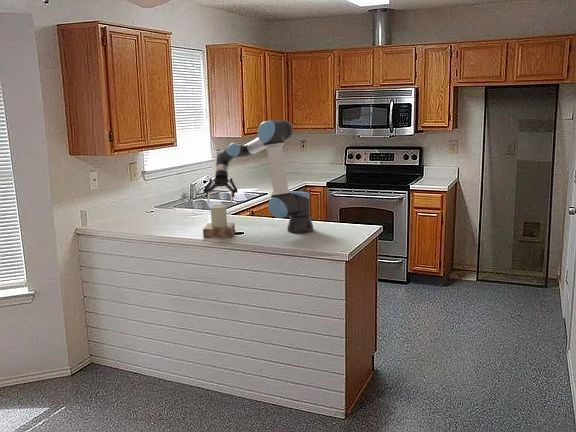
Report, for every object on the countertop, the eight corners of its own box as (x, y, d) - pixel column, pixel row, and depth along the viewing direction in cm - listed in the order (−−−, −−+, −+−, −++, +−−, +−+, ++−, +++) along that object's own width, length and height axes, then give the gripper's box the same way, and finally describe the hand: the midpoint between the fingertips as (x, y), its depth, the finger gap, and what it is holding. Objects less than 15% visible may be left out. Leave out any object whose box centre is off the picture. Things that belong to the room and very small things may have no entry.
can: (219, 223, 332) (218, 203, 329) (230, 225, 326) (229, 204, 323) (208, 226, 325) (206, 205, 322) (219, 228, 319) (218, 207, 316)
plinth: (234, 230, 334) (234, 222, 333) (231, 237, 318) (231, 228, 317) (208, 231, 334) (207, 223, 333) (203, 237, 318) (202, 229, 317)
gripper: (242, 176, 346) (241, 204, 334) (202, 177, 346) (199, 206, 335) (241, 168, 339) (240, 197, 328) (200, 170, 340) (197, 198, 328)
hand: (219, 201), depth 331 cm, fingers open, 13 cm apart
